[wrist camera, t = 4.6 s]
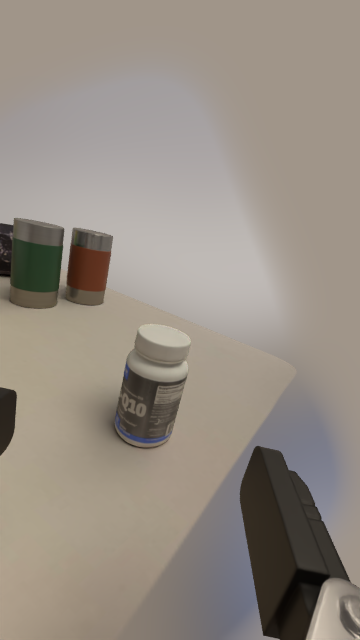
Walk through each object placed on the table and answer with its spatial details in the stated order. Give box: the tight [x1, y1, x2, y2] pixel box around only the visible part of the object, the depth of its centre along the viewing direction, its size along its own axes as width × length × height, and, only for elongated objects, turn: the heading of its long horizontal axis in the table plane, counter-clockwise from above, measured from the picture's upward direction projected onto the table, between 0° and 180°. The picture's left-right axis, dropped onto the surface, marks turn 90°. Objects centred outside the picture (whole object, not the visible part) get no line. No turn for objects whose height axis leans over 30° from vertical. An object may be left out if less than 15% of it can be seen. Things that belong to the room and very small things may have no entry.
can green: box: [10, 218, 64, 308], centre depth 44 cm, size 7×7×12 cm
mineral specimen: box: [0, 223, 14, 275], centre depth 56 cm, size 10×10×10 cm
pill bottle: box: [115, 324, 191, 447], centre depth 22 cm, size 5×5×8 cm
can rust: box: [65, 228, 113, 305], centre depth 50 cm, size 7×7×12 cm
